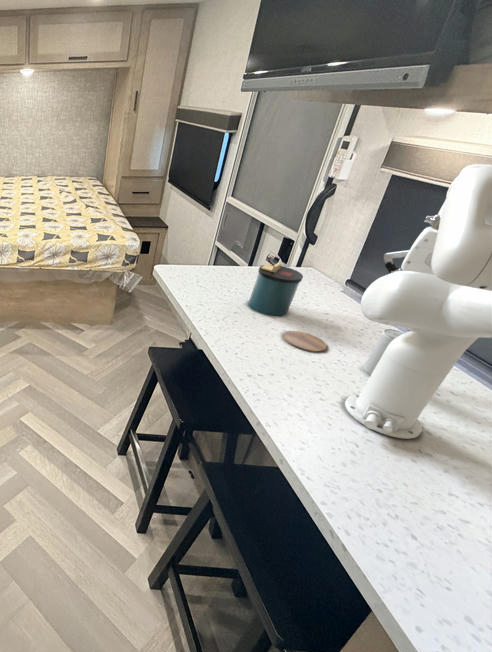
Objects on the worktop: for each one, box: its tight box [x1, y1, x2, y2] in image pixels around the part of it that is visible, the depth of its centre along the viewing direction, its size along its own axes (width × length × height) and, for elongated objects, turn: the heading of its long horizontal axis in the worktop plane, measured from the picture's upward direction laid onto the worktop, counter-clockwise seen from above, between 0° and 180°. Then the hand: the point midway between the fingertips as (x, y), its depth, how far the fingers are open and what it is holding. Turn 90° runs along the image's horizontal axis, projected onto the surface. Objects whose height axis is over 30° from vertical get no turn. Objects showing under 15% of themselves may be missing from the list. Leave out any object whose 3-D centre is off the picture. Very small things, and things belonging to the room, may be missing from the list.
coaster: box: [283, 330, 327, 353], centre depth 114 cm, size 10×10×1 cm
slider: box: [260, 262, 282, 273], centre depth 127 cm, size 4×4×2 cm
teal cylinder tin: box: [247, 264, 304, 318], centre depth 128 cm, size 12×12×13 cm
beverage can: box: [362, 328, 405, 376], centre depth 99 cm, size 5×5×12 cm
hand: (417, 297), depth 91 cm, fingers open, 9 cm apart
